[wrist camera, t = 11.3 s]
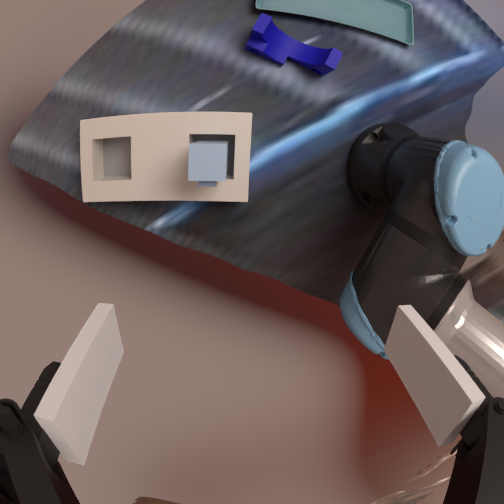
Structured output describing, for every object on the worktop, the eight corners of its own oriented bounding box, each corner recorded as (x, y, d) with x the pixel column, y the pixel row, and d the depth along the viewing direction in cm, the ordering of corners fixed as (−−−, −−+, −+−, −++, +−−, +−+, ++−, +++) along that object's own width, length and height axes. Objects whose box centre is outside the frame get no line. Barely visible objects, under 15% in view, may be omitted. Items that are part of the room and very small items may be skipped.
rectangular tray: (407, 7, 34) (413, 3, 32) (407, 48, 38) (415, 46, 35) (258, -30, 32) (259, -37, 29) (253, 14, 35) (254, 8, 33)
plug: (228, 140, 41) (227, 143, 30) (227, 173, 43) (225, 188, 32) (200, 140, 41) (188, 143, 30) (199, 173, 43) (188, 188, 32)
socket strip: (249, 115, 41) (252, 112, 37) (246, 194, 46) (247, 202, 41) (94, 120, 39) (80, 120, 35) (96, 194, 44) (83, 202, 39)
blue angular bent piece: (245, 49, 37) (247, 38, 32) (258, 26, 36) (261, 12, 30) (318, 84, 40) (330, 78, 34) (329, 61, 38) (343, 52, 33)
